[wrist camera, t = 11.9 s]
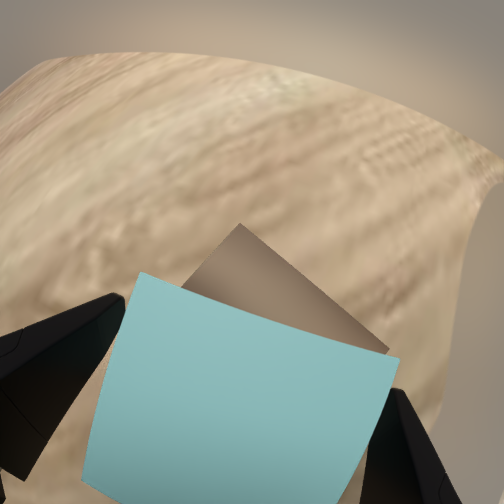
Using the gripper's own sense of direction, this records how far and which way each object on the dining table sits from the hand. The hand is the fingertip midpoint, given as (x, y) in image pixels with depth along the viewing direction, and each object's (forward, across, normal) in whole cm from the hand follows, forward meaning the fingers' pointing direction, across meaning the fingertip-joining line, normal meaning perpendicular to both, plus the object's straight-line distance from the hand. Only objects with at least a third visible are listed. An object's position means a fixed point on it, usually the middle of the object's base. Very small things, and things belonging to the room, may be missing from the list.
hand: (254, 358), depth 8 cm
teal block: (+5, 0, +7) cm, 8 cm away
